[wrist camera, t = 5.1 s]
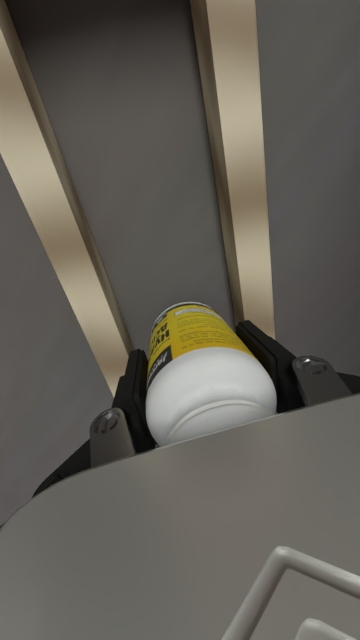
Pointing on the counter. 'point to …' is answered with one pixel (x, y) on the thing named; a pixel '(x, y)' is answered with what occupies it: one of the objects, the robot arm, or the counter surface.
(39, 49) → the counter surface
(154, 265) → the counter surface
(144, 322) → the counter surface
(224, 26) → the wooden u-shaped frame
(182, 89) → the counter surface
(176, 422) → the supplement bottle
